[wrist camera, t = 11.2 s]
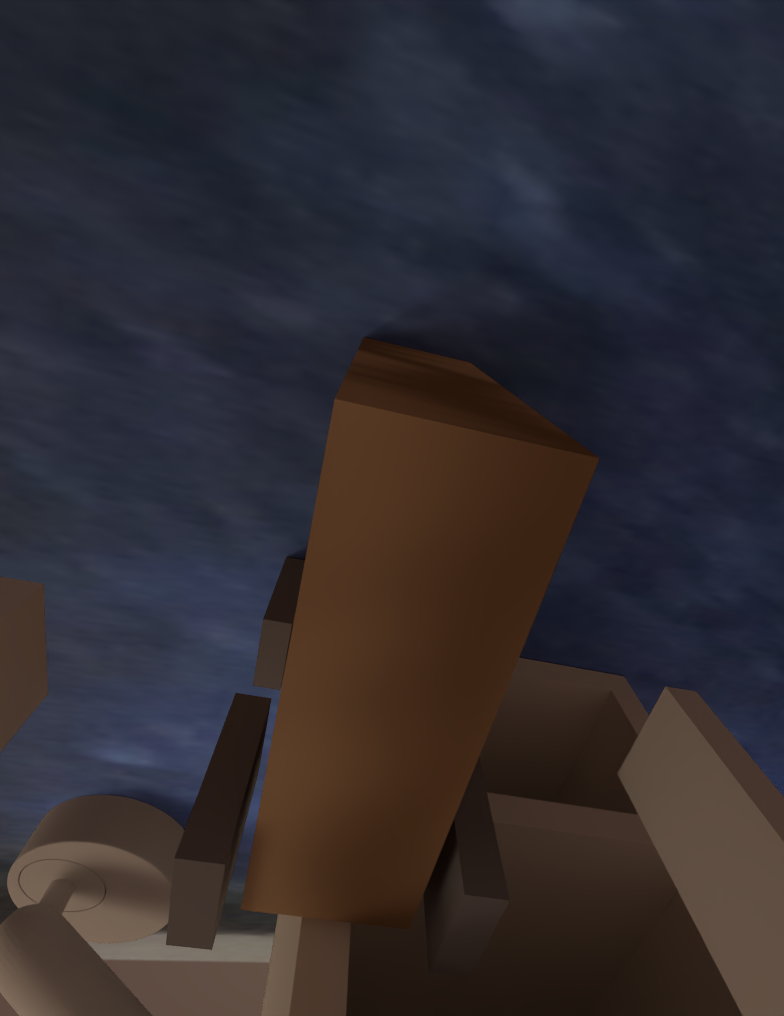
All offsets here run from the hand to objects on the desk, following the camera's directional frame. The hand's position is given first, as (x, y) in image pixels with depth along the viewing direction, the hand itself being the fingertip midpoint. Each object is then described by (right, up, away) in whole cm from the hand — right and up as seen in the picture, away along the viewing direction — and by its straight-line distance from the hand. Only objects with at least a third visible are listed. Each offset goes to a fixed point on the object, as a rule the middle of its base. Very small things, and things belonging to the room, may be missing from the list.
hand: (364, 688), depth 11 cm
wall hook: (-15, -16, +18) cm, 28 cm away
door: (0, +4, +10) cm, 11 cm away
